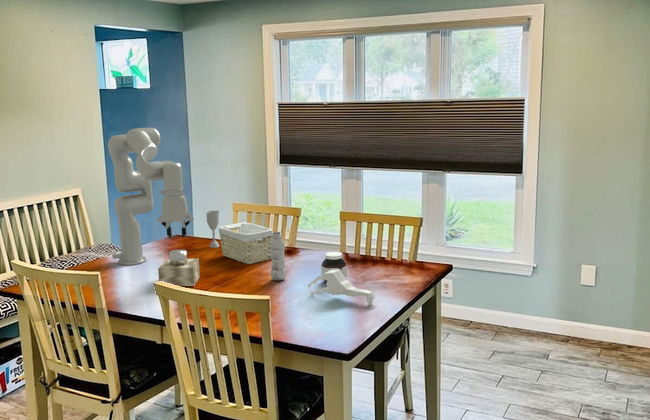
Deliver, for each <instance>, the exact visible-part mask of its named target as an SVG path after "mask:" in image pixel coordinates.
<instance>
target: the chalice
mask: <svg viewBox="0 0 650 420" xmlns="http://www.w3.org/2000/svg"><path fill="white" fill-rule="evenodd" d="M204 212H205V214H206V223H207V225H208V228H209V229H210V230H212V241H211V242H210V244H209V248H219V247H220V244H219V242H218V241H217V240H216V232H215V231H216V229H217V228H218V226H219V222H220V216H219V215H220V211H219V210H208V211H204Z"/></svg>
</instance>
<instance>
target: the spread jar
mask: <svg viewBox="0 0 650 420" xmlns="http://www.w3.org/2000/svg"><path fill="white" fill-rule="evenodd" d="M324 256H325V258H324V260H323V261H322V263H321V266H320V267H321V268H320V270H321V275H320V276H322V275H323V274H324V273H326V272H328V271H330V270H341V272H342V273H343V275H344V276H345V278H346V279H347V277H348V266H347V261H345V259H344V258H343V253H342V252H339V251H329V252H327V253H325V255H324ZM323 281H324V282H325V283H327V281H328V280H323Z"/></svg>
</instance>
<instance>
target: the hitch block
mask: <svg viewBox="0 0 650 420" xmlns="http://www.w3.org/2000/svg"><path fill="white" fill-rule="evenodd" d="M199 259H200V258H198V257H197V258H187V264H185V265H181V266H172V265H170V258H169V259H167V258H166V259H164V261H163V262H162V263H161V264H160V266H159V267H157V271H158V282H159V281H164V282H167V283H171V284H174V285H179V286H194V287H195V286H196V285H195V284H197V283H198V281H199V279H200V277H201V274H200V273H201V271H200V260H199ZM196 282H197V283H196Z"/></svg>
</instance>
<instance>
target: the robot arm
mask: <svg viewBox="0 0 650 420" xmlns="http://www.w3.org/2000/svg"><path fill="white" fill-rule="evenodd" d="M160 143H161V134H160V132H159V131H158V130H157V129H156V128H154V127H136V128H132V129H129V130H128V131H127V132H126V134H118V135H117V134H116V135H113V136H111V137H110V138H109V140H108V143H107V146H108V147H107V148H108V153H109V157H110V158H111V161H112V165H113V173H114V182H115V187H116V190H117V191H118V192H119V193H131V192H133V193H134V192H139V193H135V194H133V193H132V194H126V195H121V196H119V197H117V198H116V199H115V200H114V204H113V205H114V210H115V214H116V217H117V218H116V219H117V223H118V232H119V244H120V252H119V253H112V254H111V256H112V259H113V260H114V259H118V264H119V265H121V266H122V265H123V266H133V265H134V266H135V265H140V264H143V263H146V262H147V257H146V256H144V255H143V246H142V233H141V225H140V222H139V220H138V219H137V218H136V217H135V216H137V215H143V214H148V213H151V212H152V211H153V209H154V194H153V188H152V187H153V186H152V182H153V181H161V180H163V181H162V183H163V190H160V195H164V196H162V200H161V215H160V216H159V217H158V219H157V222H158V223H160V224H161V225H162V226H163V227H165V229H166V236H167V237H168V239H171V238H172V236H173V233H172V232H173V231H172V227H171V223H173V222H175V223H177V222H180V223H181V227H182V228H181V238H185V237H186V235H187V226H188V225H190V223H191V222H193V221H194V220H195V217H194V216H193V215H191V214H190V213H191V212H189V207H188V203H187V202H188V201H187V198H186V195H184V184H183V183H184V182H183V170H182V164H181V163H179V162H175V161H172V160H162V161H161V160H160V161H152V160H154V159H155V157H156V156H157V154H158V147H159V145H160ZM134 153H135V155H137V156H136V158H135V164H136V165H135V166H136V169H137V170H134V162H133V160H132V158H131V157H130V156H129V154H134Z"/></svg>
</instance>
